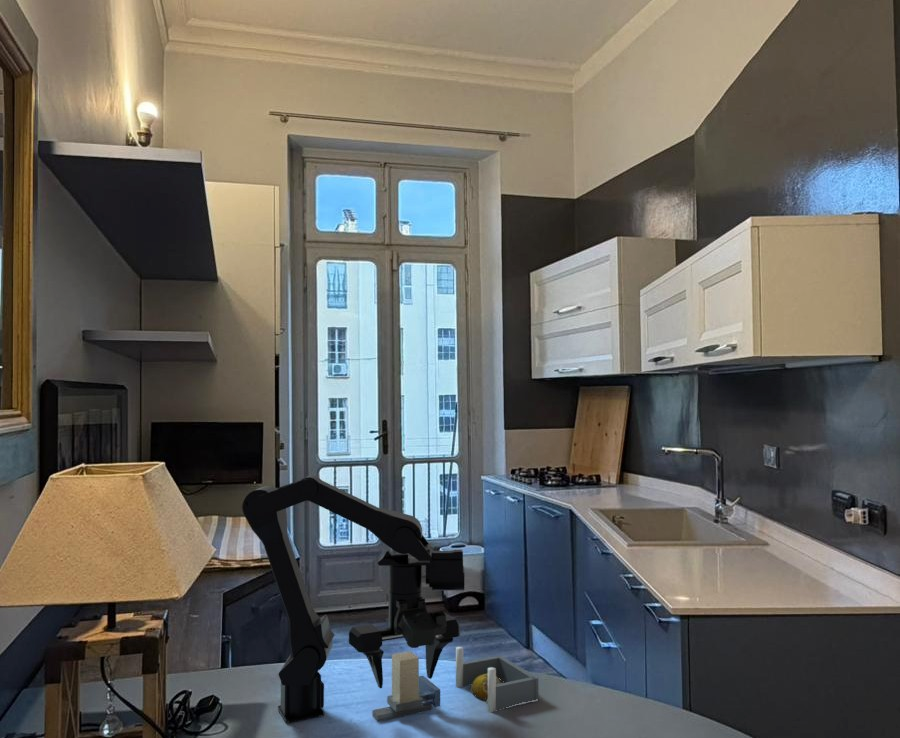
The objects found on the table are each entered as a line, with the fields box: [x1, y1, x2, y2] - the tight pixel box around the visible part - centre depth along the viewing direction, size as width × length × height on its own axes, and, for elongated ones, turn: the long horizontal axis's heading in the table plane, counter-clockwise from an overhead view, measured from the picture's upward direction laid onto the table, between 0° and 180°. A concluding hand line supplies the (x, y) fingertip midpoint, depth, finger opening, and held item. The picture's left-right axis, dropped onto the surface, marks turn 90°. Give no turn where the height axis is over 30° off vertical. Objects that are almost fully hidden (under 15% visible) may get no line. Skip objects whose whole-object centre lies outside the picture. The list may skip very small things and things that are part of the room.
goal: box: [455, 646, 540, 713], centre depth 128 cm, size 10×13×7 cm
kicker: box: [386, 650, 441, 712], centre depth 121 cm, size 8×7×8 cm
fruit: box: [470, 674, 502, 705], centre depth 127 cm, size 8×8×4 cm
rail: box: [372, 701, 433, 723], centre depth 120 cm, size 10×2×1 cm, turn 117°
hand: (405, 682), depth 120 cm, fingers open, 9 cm apart
